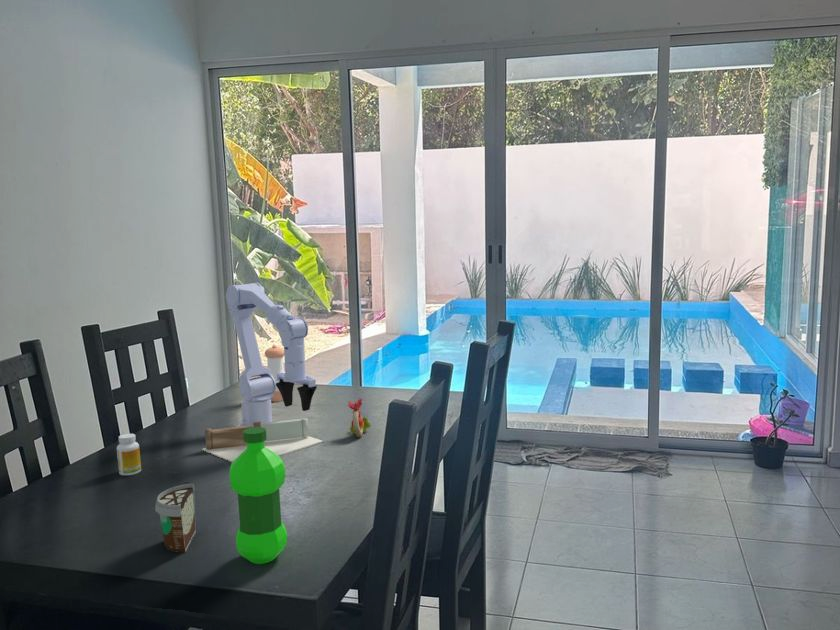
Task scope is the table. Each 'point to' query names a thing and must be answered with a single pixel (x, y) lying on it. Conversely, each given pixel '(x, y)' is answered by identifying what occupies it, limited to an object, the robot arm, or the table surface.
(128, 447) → the supplement bottle
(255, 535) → the plastic bottle
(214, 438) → the bar
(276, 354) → the pepper shaker
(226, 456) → the board
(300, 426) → the fence gate
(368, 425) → the bird rattle
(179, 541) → the food container
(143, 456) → the table surface
